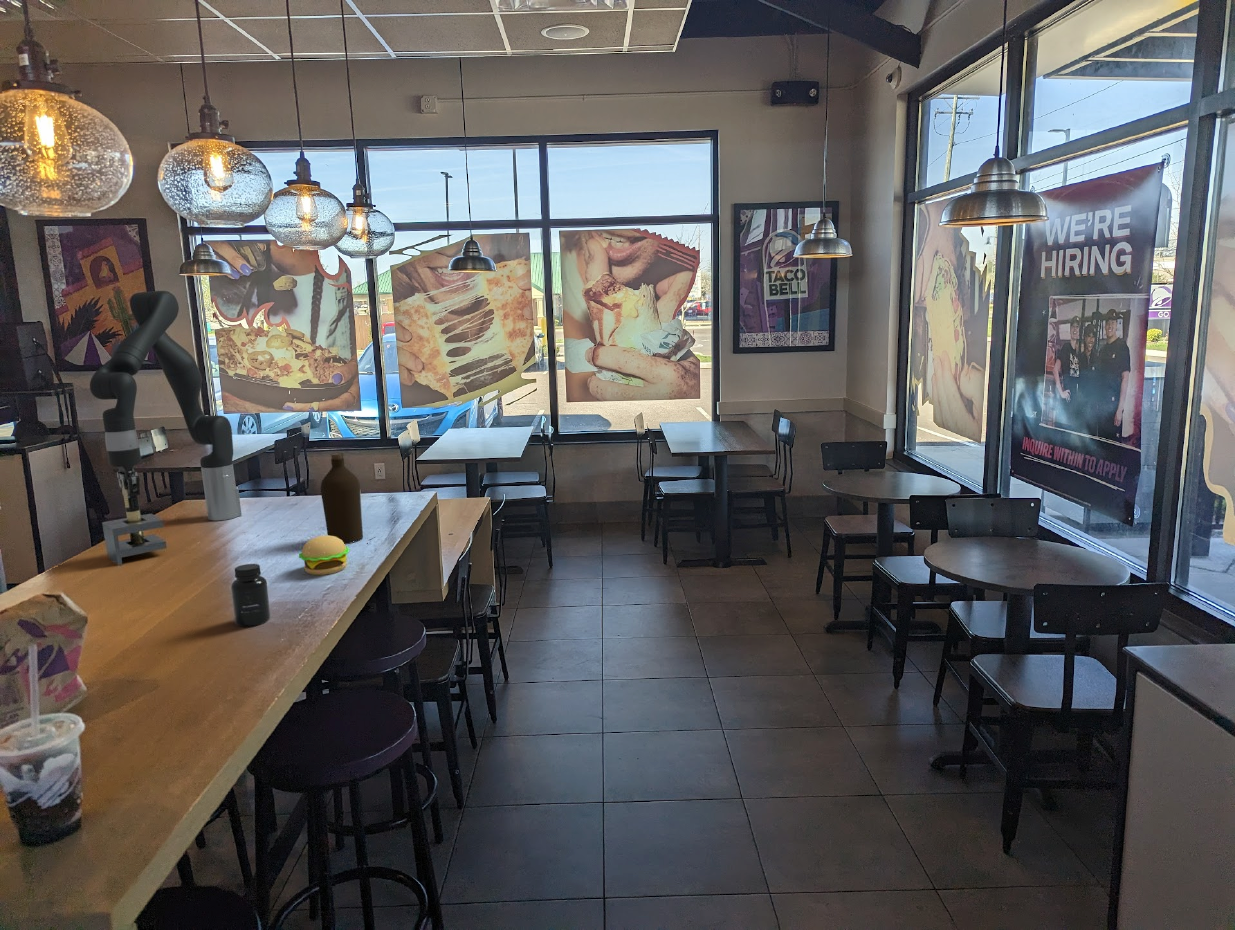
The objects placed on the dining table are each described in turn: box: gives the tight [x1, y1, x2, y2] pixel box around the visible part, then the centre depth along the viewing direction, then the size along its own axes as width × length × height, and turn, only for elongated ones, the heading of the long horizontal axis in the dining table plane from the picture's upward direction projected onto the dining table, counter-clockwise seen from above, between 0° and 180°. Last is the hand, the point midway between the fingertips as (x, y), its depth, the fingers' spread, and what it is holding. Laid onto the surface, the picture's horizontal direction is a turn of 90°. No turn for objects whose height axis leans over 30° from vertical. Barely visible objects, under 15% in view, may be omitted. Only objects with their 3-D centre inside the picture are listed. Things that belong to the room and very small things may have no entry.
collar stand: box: [101, 513, 168, 566], centre depth 219 cm, size 12×11×10 cm
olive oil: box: [320, 452, 364, 544], centre depth 227 cm, size 11×11×25 cm
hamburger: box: [298, 534, 350, 576], centre depth 202 cm, size 12×12×9 cm
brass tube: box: [122, 487, 145, 545], centre depth 218 cm, size 3×3×18 cm
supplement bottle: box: [230, 563, 271, 627], centre depth 168 cm, size 7×7×12 cm
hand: (132, 509), depth 218 cm, fingers closed on brass tube, 3 cm apart
